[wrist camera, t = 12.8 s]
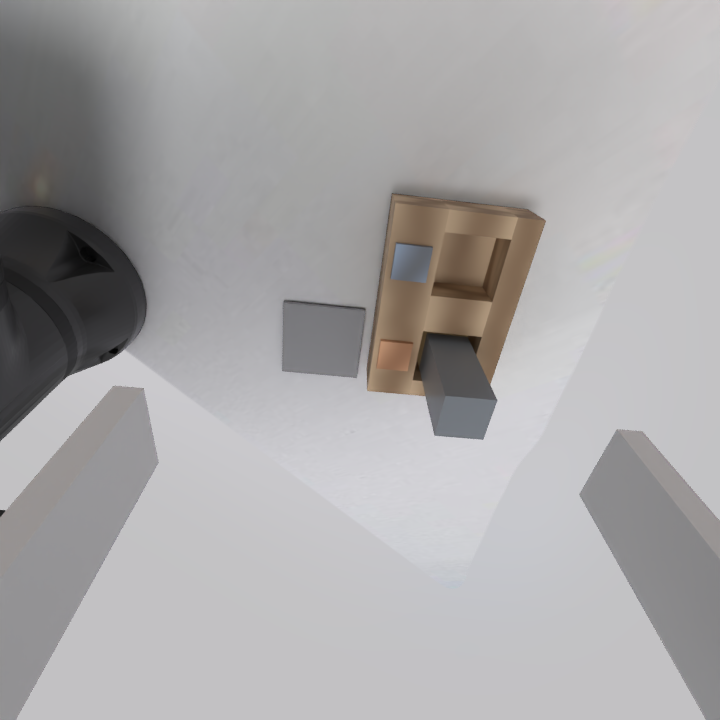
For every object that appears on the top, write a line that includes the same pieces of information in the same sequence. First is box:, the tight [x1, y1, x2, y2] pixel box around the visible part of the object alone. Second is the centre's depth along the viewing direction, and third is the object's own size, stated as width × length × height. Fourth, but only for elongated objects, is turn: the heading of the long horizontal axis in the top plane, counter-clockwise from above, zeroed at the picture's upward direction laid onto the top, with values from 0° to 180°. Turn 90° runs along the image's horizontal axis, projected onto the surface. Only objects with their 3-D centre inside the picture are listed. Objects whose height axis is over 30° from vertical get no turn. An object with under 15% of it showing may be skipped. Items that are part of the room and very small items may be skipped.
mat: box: [282, 301, 365, 378], centre depth 43 cm, size 8×8×1 cm
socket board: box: [367, 194, 546, 396], centre depth 39 cm, size 12×18×4 cm, turn 174°
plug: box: [417, 331, 497, 440], centre depth 37 cm, size 4×4×12 cm
